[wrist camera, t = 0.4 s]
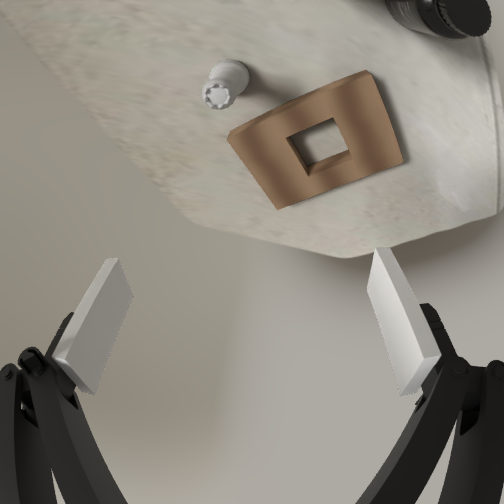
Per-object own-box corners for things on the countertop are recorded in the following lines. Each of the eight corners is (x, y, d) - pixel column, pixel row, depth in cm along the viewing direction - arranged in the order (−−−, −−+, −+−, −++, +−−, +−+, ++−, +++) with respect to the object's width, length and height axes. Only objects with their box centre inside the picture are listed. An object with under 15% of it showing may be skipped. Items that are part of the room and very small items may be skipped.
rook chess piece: (233, 101, 32) (221, 127, 26) (203, 80, 30) (183, 101, 24) (258, 74, 29) (251, 93, 23) (226, 51, 27) (211, 64, 22)
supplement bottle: (438, 35, 21) (499, 59, 13) (384, 25, 22) (432, 40, 14) (437, -17, 16) (500, -12, 8) (380, -29, 17) (429, -39, 9)
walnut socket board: (365, 69, 27) (371, 74, 25) (397, 152, 34) (403, 162, 32) (229, 131, 35) (226, 140, 33) (277, 199, 42) (277, 210, 40)
